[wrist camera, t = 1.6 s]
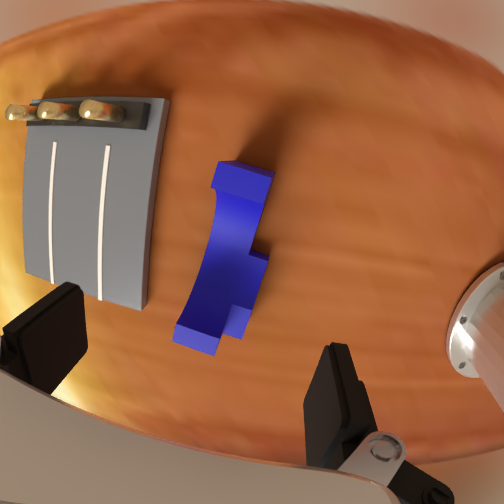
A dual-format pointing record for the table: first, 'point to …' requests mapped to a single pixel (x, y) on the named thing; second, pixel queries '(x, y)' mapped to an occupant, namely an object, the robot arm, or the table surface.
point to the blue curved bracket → (227, 260)
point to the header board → (93, 203)
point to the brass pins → (83, 114)
